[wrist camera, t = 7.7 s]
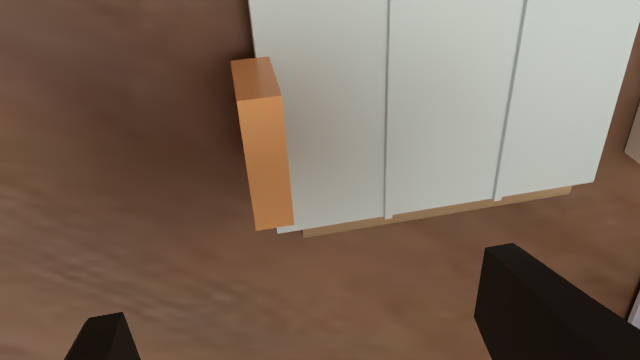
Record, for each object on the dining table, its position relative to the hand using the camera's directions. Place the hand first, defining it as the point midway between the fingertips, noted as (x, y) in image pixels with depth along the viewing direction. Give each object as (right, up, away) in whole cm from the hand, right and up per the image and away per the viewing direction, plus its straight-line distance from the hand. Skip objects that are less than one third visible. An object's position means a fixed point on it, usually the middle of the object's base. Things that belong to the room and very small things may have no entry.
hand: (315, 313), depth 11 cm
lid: (+5, +6, +9) cm, 12 cm away
